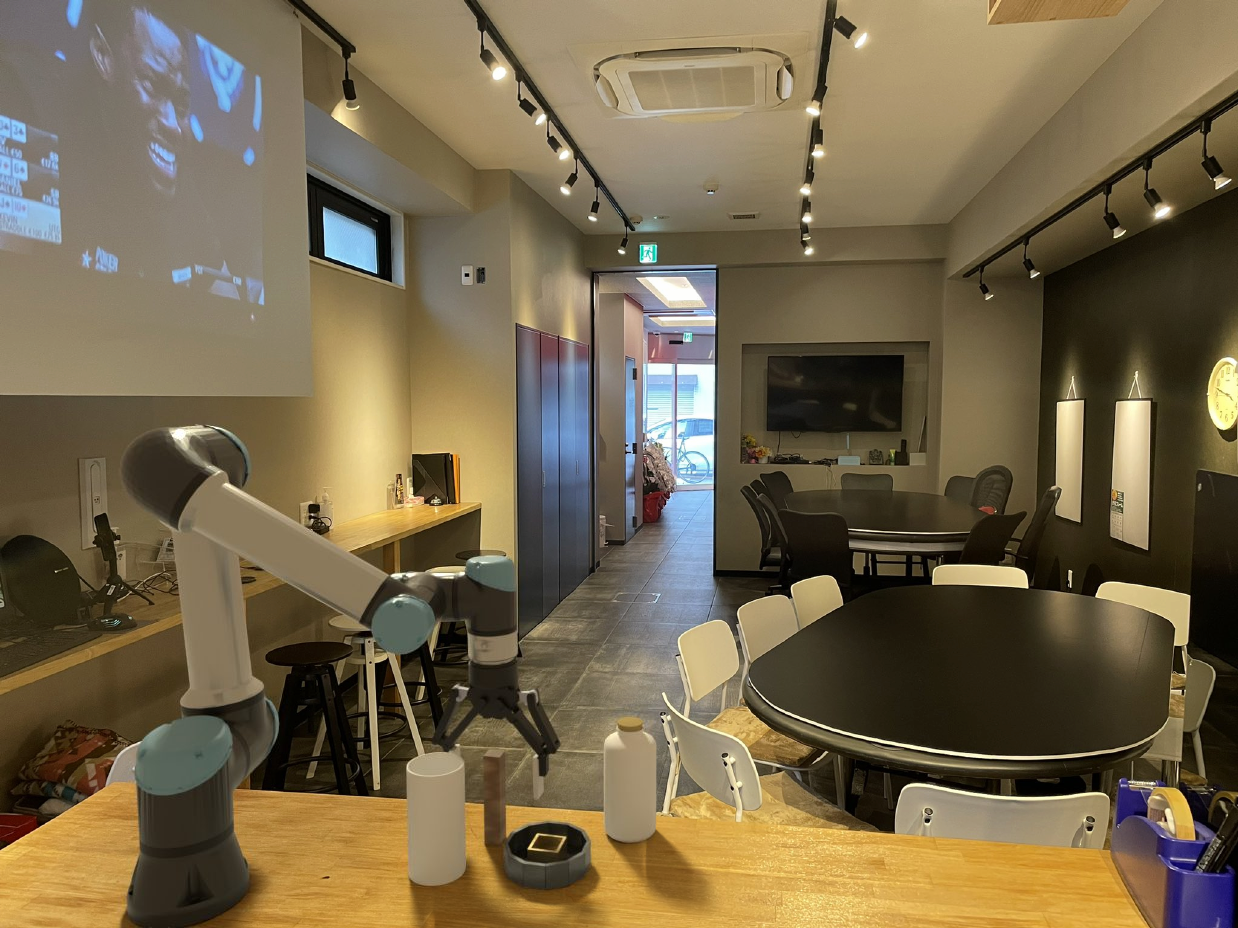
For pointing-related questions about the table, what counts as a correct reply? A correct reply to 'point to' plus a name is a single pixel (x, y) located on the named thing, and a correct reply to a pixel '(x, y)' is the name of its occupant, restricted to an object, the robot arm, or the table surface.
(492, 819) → the square wooden stick
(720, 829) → the table surface
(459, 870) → the cup
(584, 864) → the bowl
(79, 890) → the table surface
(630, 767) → the potion bottle
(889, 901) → the table surface
